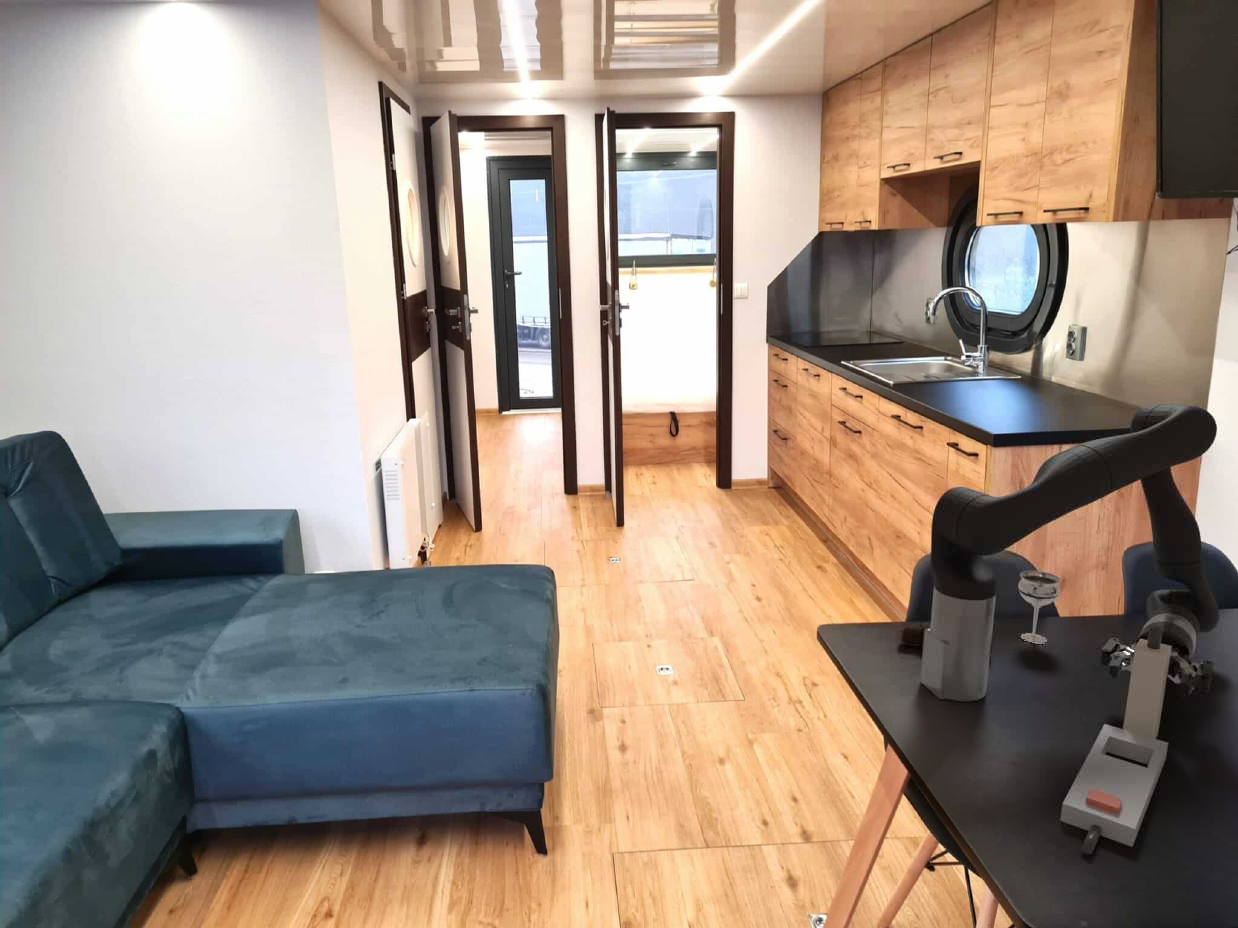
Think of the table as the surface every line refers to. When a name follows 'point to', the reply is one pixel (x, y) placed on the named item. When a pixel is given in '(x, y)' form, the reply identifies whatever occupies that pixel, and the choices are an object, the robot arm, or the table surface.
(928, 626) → the bolt
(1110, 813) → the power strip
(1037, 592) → the wineglass
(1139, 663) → the plug
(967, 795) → the table surface
